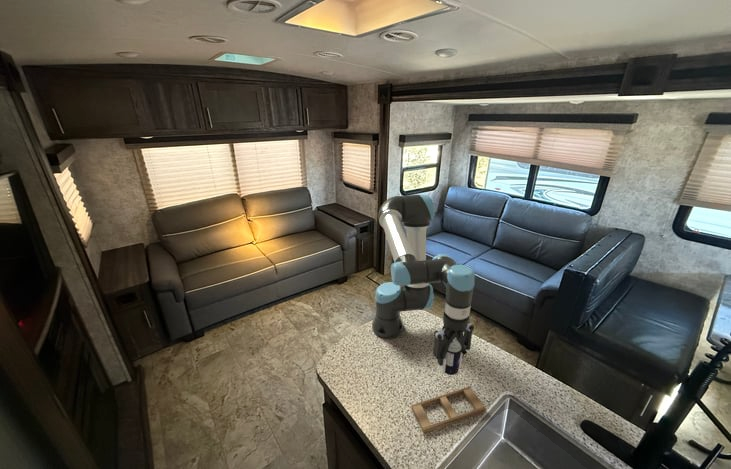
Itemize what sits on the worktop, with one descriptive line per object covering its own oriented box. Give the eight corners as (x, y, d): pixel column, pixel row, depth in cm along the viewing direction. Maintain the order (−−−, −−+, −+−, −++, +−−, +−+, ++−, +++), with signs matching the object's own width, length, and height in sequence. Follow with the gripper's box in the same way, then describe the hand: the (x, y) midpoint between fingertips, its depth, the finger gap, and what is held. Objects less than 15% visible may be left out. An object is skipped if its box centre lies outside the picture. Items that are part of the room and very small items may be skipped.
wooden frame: (411, 408, 101) (411, 405, 100) (469, 390, 107) (469, 386, 106) (423, 434, 93) (423, 430, 92) (485, 412, 99) (486, 408, 98)
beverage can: (459, 378, 94) (463, 350, 90) (441, 375, 95) (444, 348, 91) (456, 364, 99) (460, 337, 95) (440, 362, 100) (443, 336, 96)
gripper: (436, 327, 82) (431, 385, 91) (489, 313, 87) (479, 369, 96) (424, 312, 89) (419, 367, 98) (473, 300, 94) (465, 353, 103)
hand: (449, 368), depth 97 cm, fingers closed on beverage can, 6 cm apart
